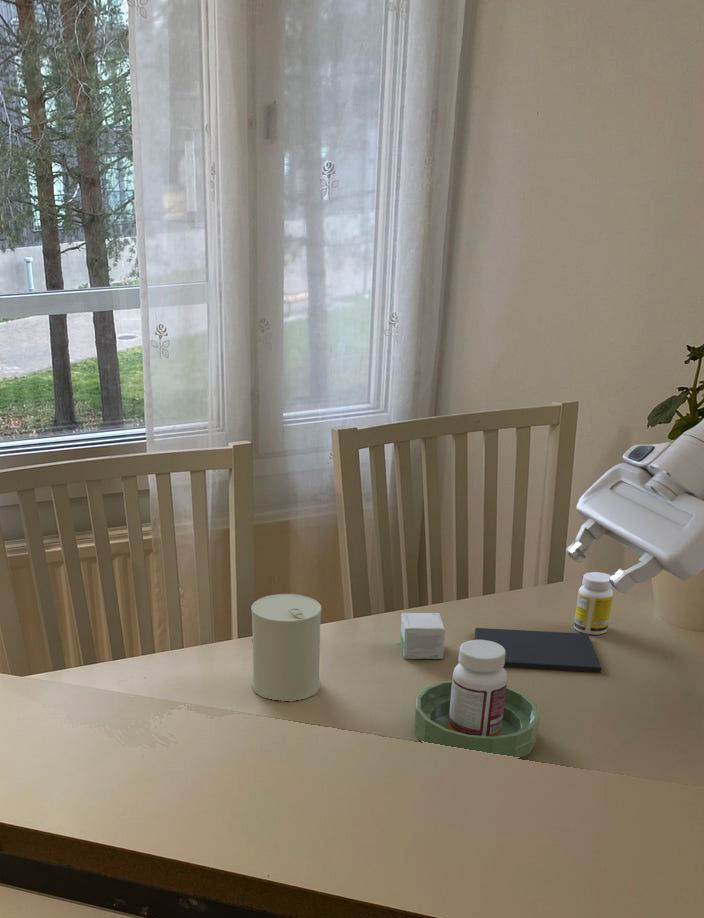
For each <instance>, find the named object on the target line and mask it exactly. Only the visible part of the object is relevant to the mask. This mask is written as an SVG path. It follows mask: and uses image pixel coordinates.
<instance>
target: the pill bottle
mask: <svg viewBox="0 0 704 918" xmlns="http://www.w3.org/2000/svg"><path fill="white" fill-rule="evenodd" d="M505 654H506V651H505V649H504V648H503V647H502V646H501V645H499V644H497V643H495V642H492V641H487V640H476V639H471V640H467V641H465V642H462V643H461V644H460V646H459V653H458V663H457V664H456V666H455V667H454V669H453V674H452V678H451V679H452V688H451V700H450V712H449V730H453V731H457V732H460V733H464V734H467V735H478V736H499V735H500V733H501V727H502V719H503V710H504V703H505V695H506V686H508V674H507V671H506V669H505V667H504V664H505Z"/></svg>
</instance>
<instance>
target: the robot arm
mask: <svg viewBox="0 0 704 918" xmlns="http://www.w3.org/2000/svg"><path fill="white" fill-rule="evenodd" d="M622 459H623V460H624V462H621V463H618V464H615V465H614V466H612V467H611V468H609V469H608V470H607V471H605V473H603V474H602V475H601V476H600V477H599V478H598V479H597V480H595V482H594V483H593V484H592V485H590V486H589V488H587V490H586V491H584V493H583V494H582V495H581V496H580V497H579V499H578V501H577V504H576V507H575V510H576V512H577V513H578V514H579V515H580V517H581V518H582V519H583V520H584V523H583V524H582V525H581V526H580V529H579V530H578V533H577V535H576V537H575V540H574V541H573V542H572V543H570V545H569V546H568V547H566V549H565V553H566V554H567V556H569V558H570V559H572V561H575V562H576V563H582V562H583V561H584V559H586V558H587V557H588V556H589V555H590V554H591V552H590V551H589V549H590V547H591V546H592V544H593V542H594V541H595V540H596V541H599V539H601V538H602V537H603V536H604V535H605V536H607V537H609V538H610V539H612V540H614V541H615V542H617V543H619V544H621V545H622V546H624V547H625V548H627V549H629V550H630V551H632V552H634V553H635V554H637V555H639V556H641V557H639V558H638V561H639V562H638V563H636V564H634V565H633V566H630V567H629V568H627V569H625V570H623V568H619V569H618V570H617V571H615V572H614V574H613V575H610V576H611V577H610V579H609V582H610V583H611V584H612V587H613V588H615V589H616V590H617V591H618V592H620V593H622V594H625V593H627V592H628V591H630V589H632V588H633V587H635V585H636V584H639V583H642V582H646V581H647V580H650V579H653V578H655V577H657V576H658V574H660V573H661V572H663V571H665V572H667V573H668V574H670V575H672V576H674V577H675V578H677V579H679V580H681V581H685V580H688V579H691V578H695V577H696V576H697V575H698V574H700V573H701V572H702V571H703V570H704V418H702V420H701V421H699V422H698V423H697V424H696V425H694V426H693V427H691V428H689V429H688V430H686V431H684V432H683V433H682V434H681V435H679V436H678V437H677V438H676V439H675V440H674V441H673V442H670V441H666V442H661V443H654V444H653V443H652V444H634V445H632V446H630V448H628V449H627V450H626V451H625V452H624V453H623V455H622Z"/></svg>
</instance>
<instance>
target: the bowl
mask: <svg viewBox="0 0 704 918" xmlns="http://www.w3.org/2000/svg"><path fill="white" fill-rule="evenodd" d="M451 688H452V680H444V681H440V682H437V683H434V684H432V685H429V686H426V687H425V688H424V689H423V690H422V691H421V692H420V693H419V694H418V695H417V696H416V699H415V713H414V736H415V737H416V738H417V739H418V741H419V740H420V741H424V742H428V743H434V744H440V745H445V746H451V747H457V748H464V749H469V750H476V751H482V752H487V753H493V754H500V755H507V756H513V757H522V758H525V757H526V756H528V755H530V754H531V752H532V750H533V749H534V747H535V745H536V743H537V738H538V730H539V722H540V713H539V711H538V706H537V704H536V703H534V702H533V701H532V699H530V697H528V695H526V694H524V693H522V692H521V691H518V690H516V689H514V688H512V687H510V686H508V685H507V686H506V695H505V703H504V710H503V719H502V727H501V733H500V735H499V736H478V735H467V734H464V733H460V732H457V731H453V730H449V712H450V700H451ZM420 741H419V742H420Z"/></svg>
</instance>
